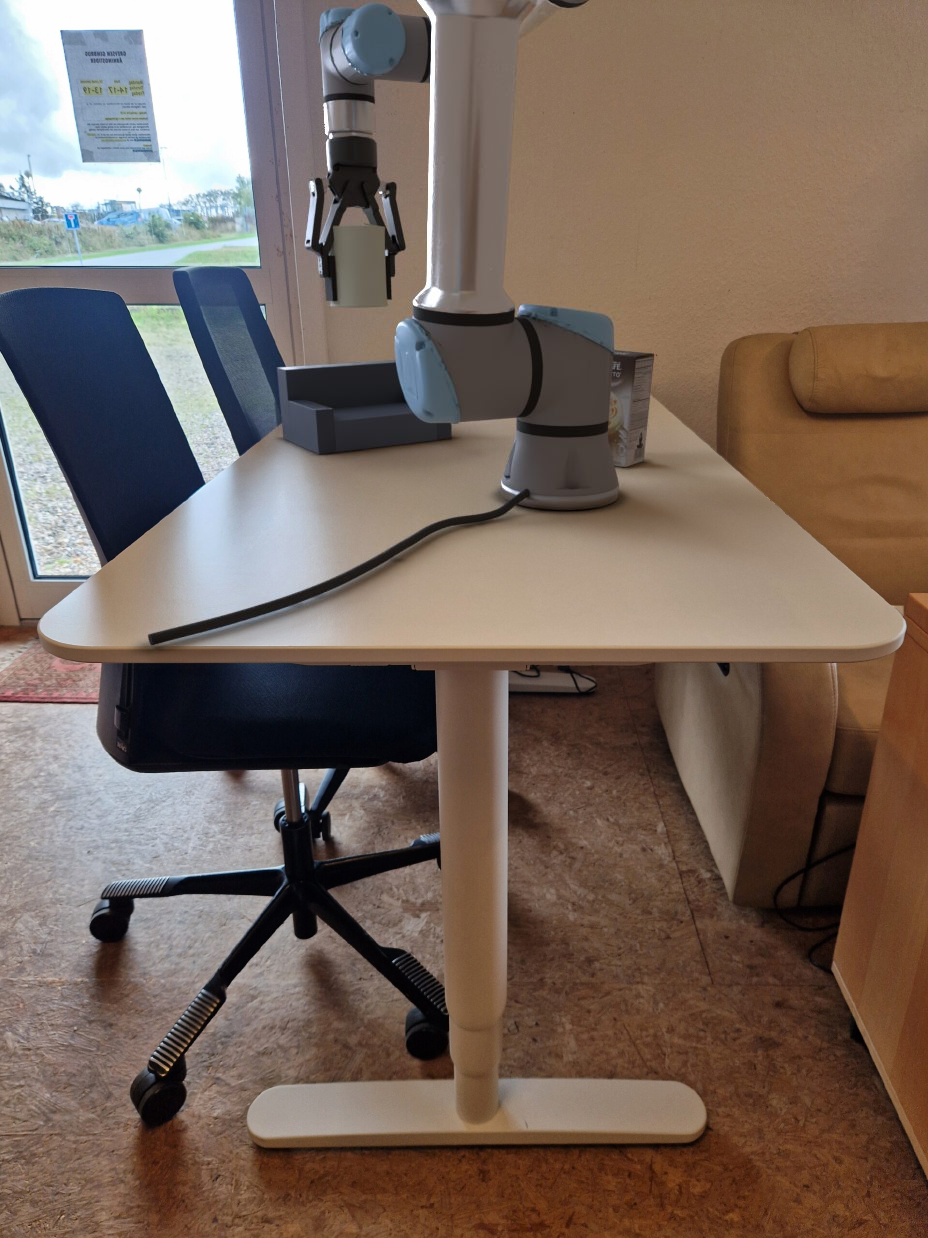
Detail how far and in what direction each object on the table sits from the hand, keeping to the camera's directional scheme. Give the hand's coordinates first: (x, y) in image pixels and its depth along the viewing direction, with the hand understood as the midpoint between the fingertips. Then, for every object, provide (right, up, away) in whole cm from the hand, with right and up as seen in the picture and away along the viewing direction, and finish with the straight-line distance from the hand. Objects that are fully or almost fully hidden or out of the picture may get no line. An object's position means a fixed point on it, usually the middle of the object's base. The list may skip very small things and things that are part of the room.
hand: (359, 299), depth 131 cm
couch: (0, -19, +13) cm, 23 cm away
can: (0, -1, 0) cm, 1 cm away
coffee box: (+39, -27, -4) cm, 48 cm away
